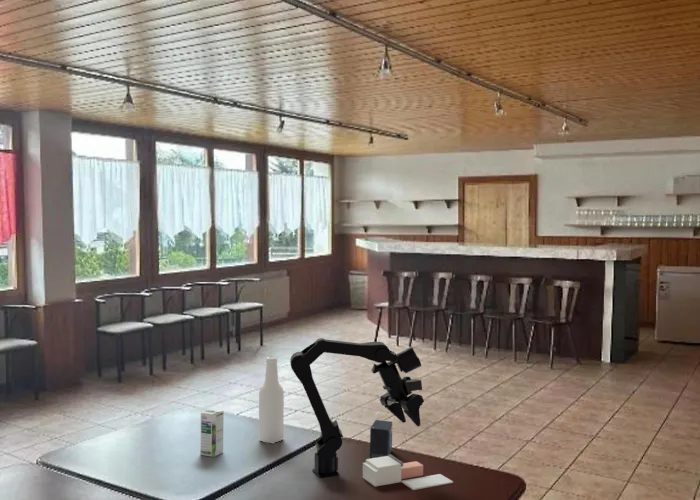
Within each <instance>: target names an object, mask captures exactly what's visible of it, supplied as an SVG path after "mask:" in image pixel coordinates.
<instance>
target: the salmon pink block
mask: <svg viewBox="0 0 700 500" xmlns="http://www.w3.org/2000/svg"><path fill="white" fill-rule="evenodd" d="M419 477H424V464H422V463H421V462H418V460H417V461H409V462H403V466H402V467H401V480H407V479H413V478H419Z"/></svg>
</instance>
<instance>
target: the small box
mask: <svg viewBox="0 0 700 500" xmlns="http://www.w3.org/2000/svg"><path fill="white" fill-rule="evenodd" d="M369 429H370V434H369V435H370V436H369V441H370V442H369V457H368V459H371V458H377V457H384V456H388V455H389V454H391V453H392V451H393V421H390V420H388V421H387V420H380V419H375V420H374V422H373V424H372V425H371V427H370V428H369Z"/></svg>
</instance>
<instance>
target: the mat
mask: <svg viewBox="0 0 700 500" xmlns="http://www.w3.org/2000/svg"><path fill="white" fill-rule="evenodd" d="M400 483H402V484H404V486H406V487H408V488H410V490H412V491H417V490H421V489H427V488H433V487H438V486H443V485H444V486H445V485H449V484H453V483H454V481H453V480H451V479H450V478H448V477H446V476H444V475H443V474H441V473H438V474H433V475H432V474H430V475H426V476H418V477H413V478H407V479H401V482H400Z"/></svg>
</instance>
